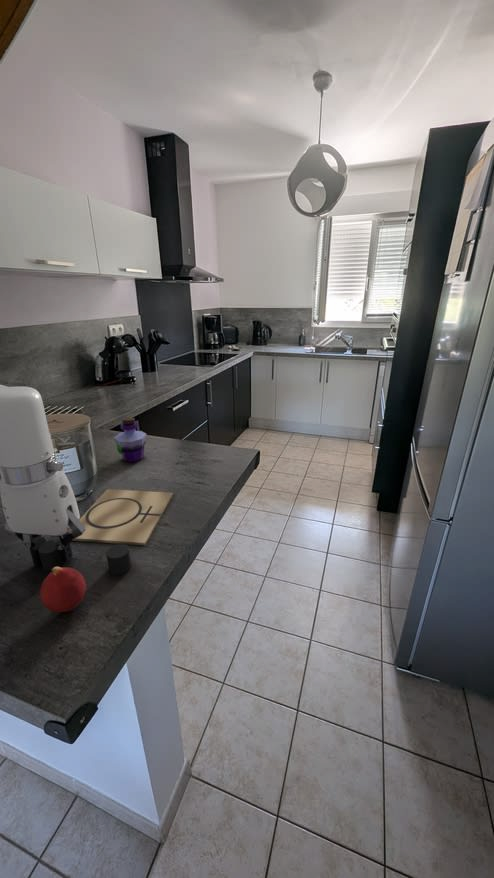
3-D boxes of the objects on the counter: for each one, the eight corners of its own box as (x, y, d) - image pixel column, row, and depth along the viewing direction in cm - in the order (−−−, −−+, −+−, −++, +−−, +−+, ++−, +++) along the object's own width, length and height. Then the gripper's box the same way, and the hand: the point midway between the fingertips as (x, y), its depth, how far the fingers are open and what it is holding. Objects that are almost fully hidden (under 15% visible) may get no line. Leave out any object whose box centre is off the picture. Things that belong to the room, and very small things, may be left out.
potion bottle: (110, 461, 99) (104, 420, 94) (132, 450, 106) (127, 411, 101) (134, 467, 95) (128, 425, 91) (155, 455, 102) (151, 416, 98)
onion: (73, 588, 56) (63, 547, 53) (97, 603, 54) (88, 561, 51) (38, 615, 52) (24, 572, 49) (62, 632, 49) (50, 588, 46)
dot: (37, 569, 60) (33, 552, 59) (50, 555, 64) (46, 538, 62) (57, 571, 60) (53, 553, 58) (69, 556, 63) (65, 539, 62)
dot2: (105, 574, 59) (102, 557, 58) (115, 559, 62) (112, 543, 61) (126, 576, 59) (123, 559, 57) (134, 561, 62) (132, 544, 61)
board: (63, 539, 67) (62, 537, 67) (107, 491, 84) (107, 488, 84) (144, 545, 66) (144, 542, 66) (173, 494, 82) (173, 492, 82)
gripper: (93, 459, 57) (109, 551, 64) (-3, 455, 59) (24, 545, 66) (66, 482, 50) (88, 582, 57) (-41, 477, 52) (-7, 574, 59)
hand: (53, 561), depth 62 cm, fingers closed on dot, 3 cm apart
